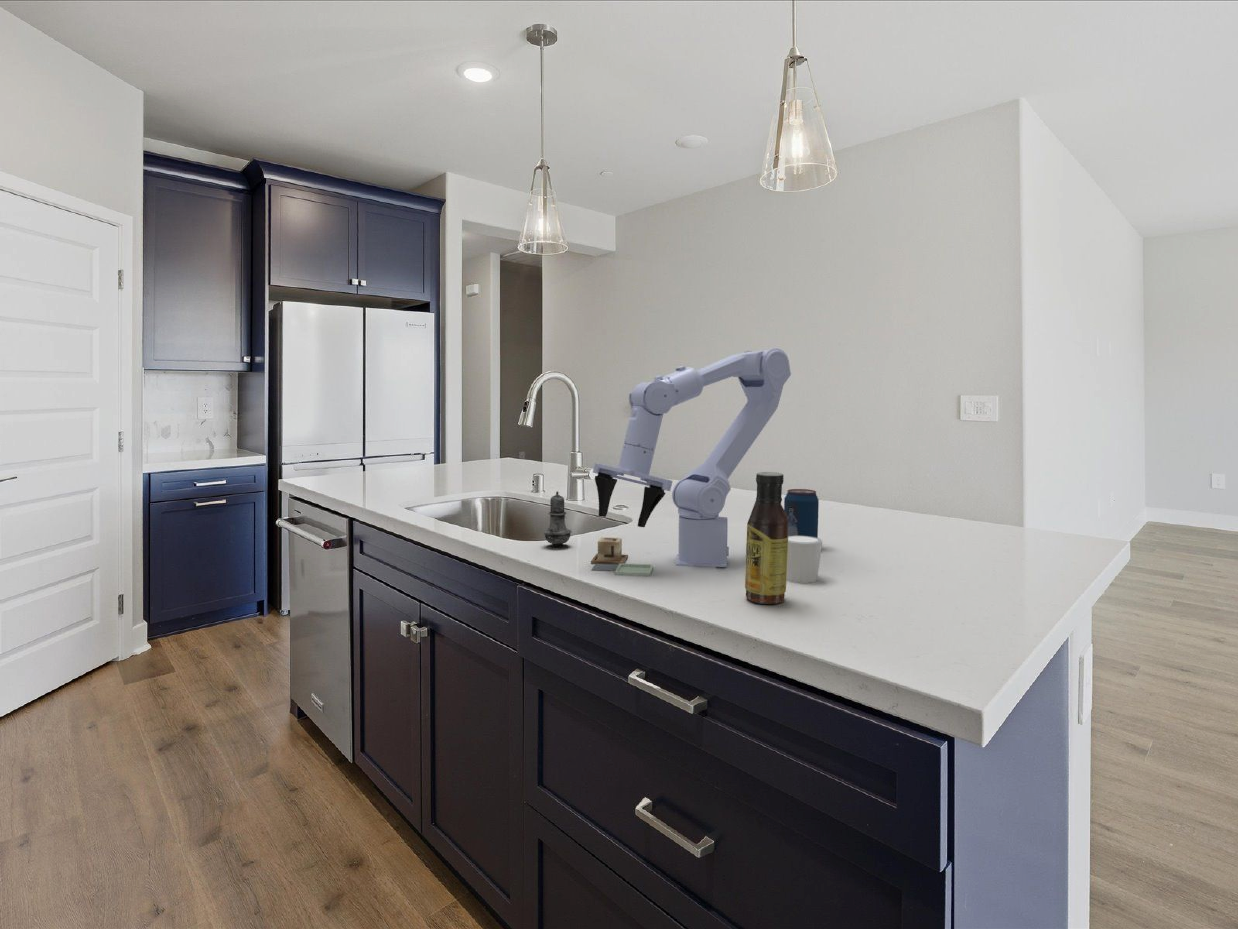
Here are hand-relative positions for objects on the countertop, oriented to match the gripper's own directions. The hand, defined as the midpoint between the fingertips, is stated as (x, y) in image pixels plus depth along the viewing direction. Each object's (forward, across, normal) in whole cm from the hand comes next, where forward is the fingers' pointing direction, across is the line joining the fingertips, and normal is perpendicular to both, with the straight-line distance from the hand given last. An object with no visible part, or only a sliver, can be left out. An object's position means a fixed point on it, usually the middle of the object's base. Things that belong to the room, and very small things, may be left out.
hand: (621, 521), depth 122 cm
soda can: (-2, +28, +33) cm, 44 cm away
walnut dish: (+8, -3, +8) cm, 12 cm away
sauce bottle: (+6, +28, -6) cm, 30 cm away
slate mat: (+9, -2, +2) cm, 10 cm away
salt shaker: (+10, -18, +15) cm, 25 cm away
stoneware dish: (+8, +4, +2) cm, 9 cm away
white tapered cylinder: (+2, +32, +9) cm, 33 cm away
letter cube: (+8, -3, +8) cm, 12 cm away
